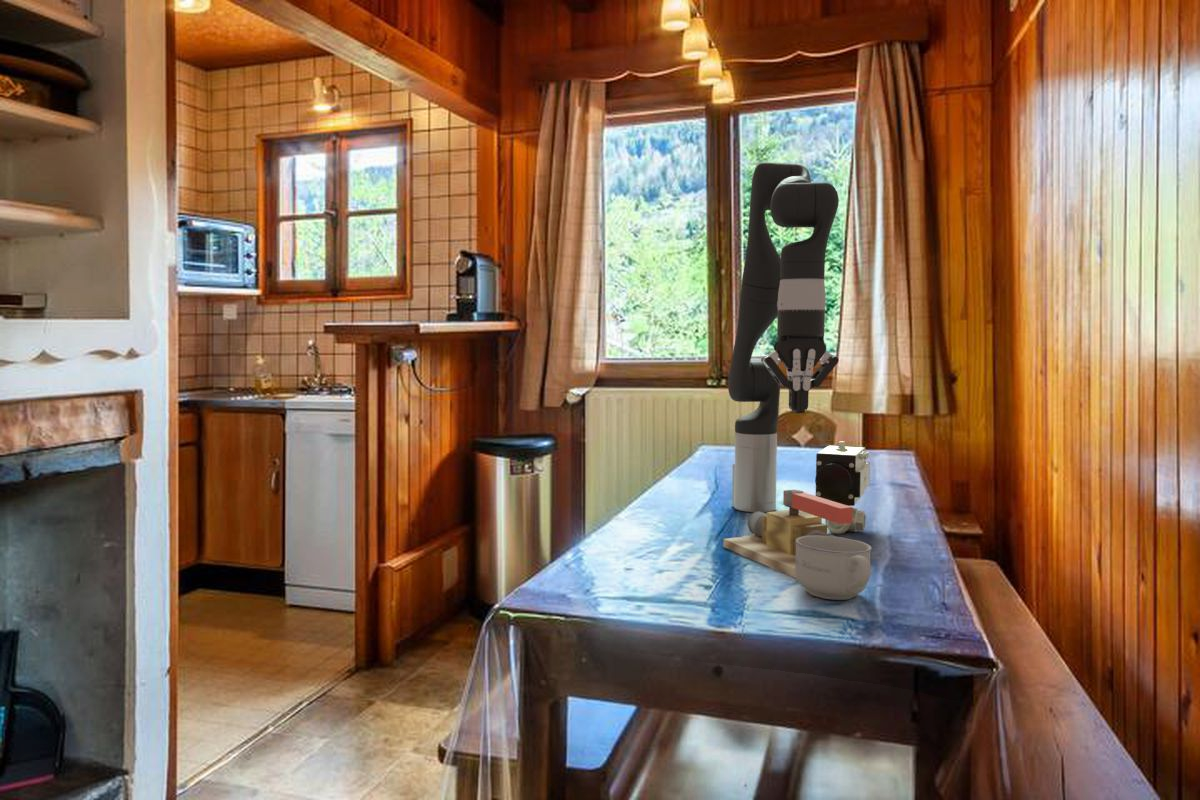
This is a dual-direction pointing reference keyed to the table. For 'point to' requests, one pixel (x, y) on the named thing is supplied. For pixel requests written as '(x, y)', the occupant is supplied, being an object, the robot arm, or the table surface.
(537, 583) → the table surface
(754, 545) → the valve fixture
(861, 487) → the ball valve
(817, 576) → the teacup
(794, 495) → the lever
